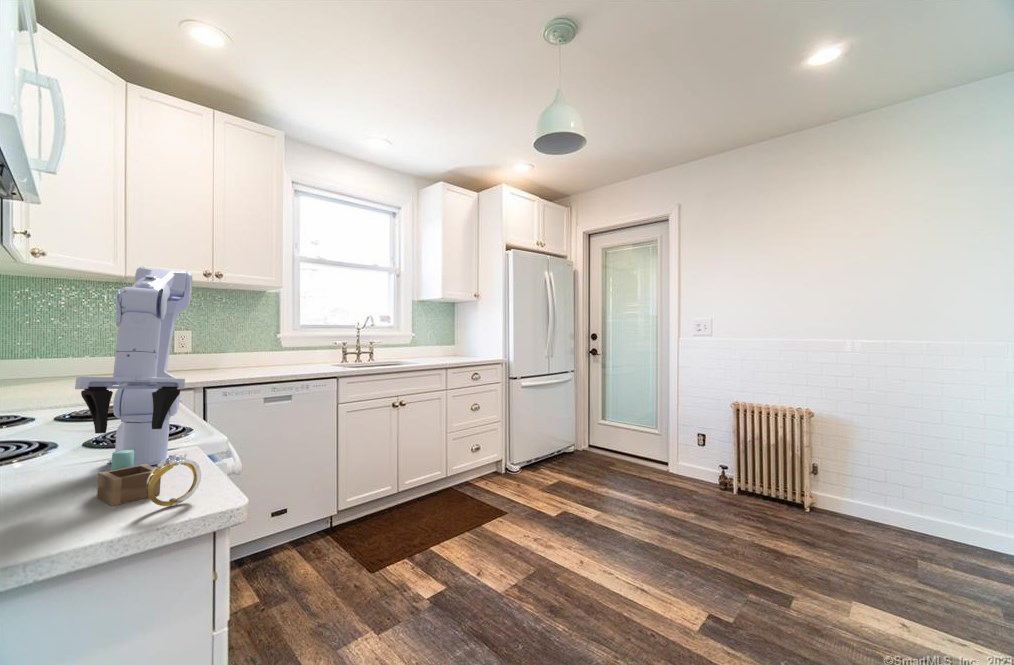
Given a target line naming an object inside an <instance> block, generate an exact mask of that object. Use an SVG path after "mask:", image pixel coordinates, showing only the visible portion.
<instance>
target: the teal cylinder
mask: <svg viewBox="0 0 1014 665" xmlns="http://www.w3.org/2000/svg"><path fill="white" fill-rule="evenodd" d="M111 459H112V463H111V467H110V470H115V469H121V468H126V467H131V466H133V462H134V450H122V451H117V452H115V451H113V452H112V454H111Z"/></svg>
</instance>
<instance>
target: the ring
mask: <svg viewBox="0 0 1014 665" xmlns="http://www.w3.org/2000/svg"><path fill="white" fill-rule="evenodd" d="M187 454H188V453H184V454H180V455H179V456H177V455H178V454H177V453H173V454H170V455H168V456H169V458H168V459H162V462H161V463H159V464H156V466H154V469H153V470H152V472H151V473H150V475H149V477H148V480H147V483H146V493H147V496H148V497H147V498H148V499H149V500H150V501H151V502H152V503H154V504H155V505H158V506H160V507H177V506H178V505H179V504H181V503H183V502H185V501H187V500H188V499H189V498H191V497H192V495H193V494H195V492H196V491H197V489H198V488H199V485H200V484H201V481H202V470H201V467H200V465H199V464H198V462H196V461H195V460H193V459H189V458H187V456H188V455H187ZM178 465H183V466H186V467H188V468H189V469H190V471H191V472H192V475H193V482H192V484H191V486H190V488H189V489H188V490H187V491H185V492H186V493H184V494H183V495H181V496H179V497H177V498H176V497H173V498H170V499H169V500H160V499H159V498H157V497H156V496H157V495H155V494H154V486H155V484H156V482H157V481H158V479H159V478H160V477H161V478H162V476H163V475H164V474H166V473H167V472H169V471H170V470H172V469H173V468H174V467H176V466H178Z"/></svg>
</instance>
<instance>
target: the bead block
mask: <svg viewBox="0 0 1014 665" xmlns="http://www.w3.org/2000/svg"><path fill="white" fill-rule="evenodd" d="M154 468H155V466H153V465H151V466H149V465H147V464H142V465H136V466H131V467H126V468H121V469H115V470H111V469H110V470H106V471H100V472H98V474H97V475H98V476H97V477H98V478H97V491H96V498H97V499H99V500H100V501H103V502H104V503H106V504H108V505H109V506H112V507H114V506H118V505H122V504H123V505H124V504H126V503H130V502H134V501H138V500H142V499H147V498H149V497H148V496H147V493H146V483H147V480H148V477H149V475H150V473H151V472H152V470H153V469H154ZM161 480H162V476H161V477H160V478H159V479H158V481H157V482H156V484H155V486H154V494H155V496H157V495H161Z"/></svg>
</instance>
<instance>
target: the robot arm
mask: <svg viewBox="0 0 1014 665" xmlns="http://www.w3.org/2000/svg"><path fill="white" fill-rule="evenodd" d="M192 292H193V274H192V272H190V271H189V270H187V271H182V270H173V269H172V270H171V269H164V268H163V269H162V268H153V267H145V266H139V267H137V269H136V271H135V274H134V283H133V284H132V286H125V287H124V289H122V288H119V289H118V290H117V293H116V296H115V311H116V313H115V314H116V316H115V317H116V319H115V322H116V323H115V326H116V327H118V328H117V329H118V330H117V333H116V334H117V335H116V343H115V344H116V345H115V354H114V355H115V356H114V362H113V364H114V365H113V374H112V376H79V377H76V378H75V385H74V389H75V390H81V392H80V394H81V397H82V399H83V400H84V402H85V404H86V405H87V408H88V409H89V410H88V411H89V412H90V415H91V418H92V420H93V426H94V433H95V434H106V433H107V430H108V418H109V417H108V416H109V415H108V414H109V410H110V409H109V408H110V404H111V400H112V397H113V393H115V394H114V398H113V404H112V412H113V415H114V416H115V417H116V418H117V419H118V420H119V419H120V422H121V423H120V424H119V425H118V427H117V429H116V433H115V434H116V435H115V446H114V447H115V450H114V452H117V451H122V450H134V462H133V466H136V465H142V464H147V465H149V466H155V465H156V466H157V465H158V464H159V463H161V462H162V459H168V458H169V456H170V455H168V448H169V434H170V418H171V417H174V416H175V415H177V414H178V412H179V408H180V400H181V399H180V397H181V396H180V393H181V389H182V390H183V389H185V384H186V378H179V377H175V376H173V375H172V374H171V373H168V372H167V371H168V366H169V365H168V364H169V359H170V358H169V357H170V351H171V346H172V338H173V332H174V326H175V323H176V321H177V318H178V316H179V314H180V313H182V312H184V311H187V310H188V309H189V306H190V303H191V297H192ZM112 390H116V392H113V391H112ZM107 461H108V462H109V463H110V464H112V458H109V459H108V460H107Z"/></svg>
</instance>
